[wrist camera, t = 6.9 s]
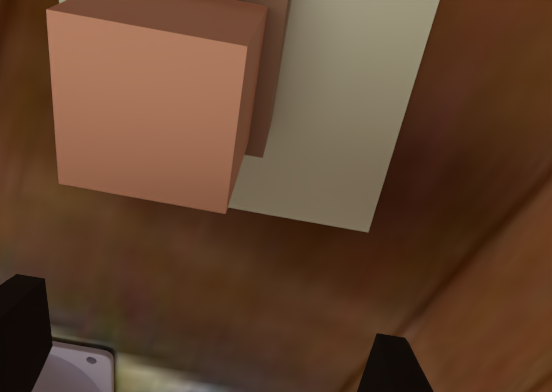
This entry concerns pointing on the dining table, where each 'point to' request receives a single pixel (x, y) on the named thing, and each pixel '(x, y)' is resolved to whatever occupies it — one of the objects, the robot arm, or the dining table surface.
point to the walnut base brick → (267, 73)
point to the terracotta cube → (154, 96)
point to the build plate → (336, 110)
